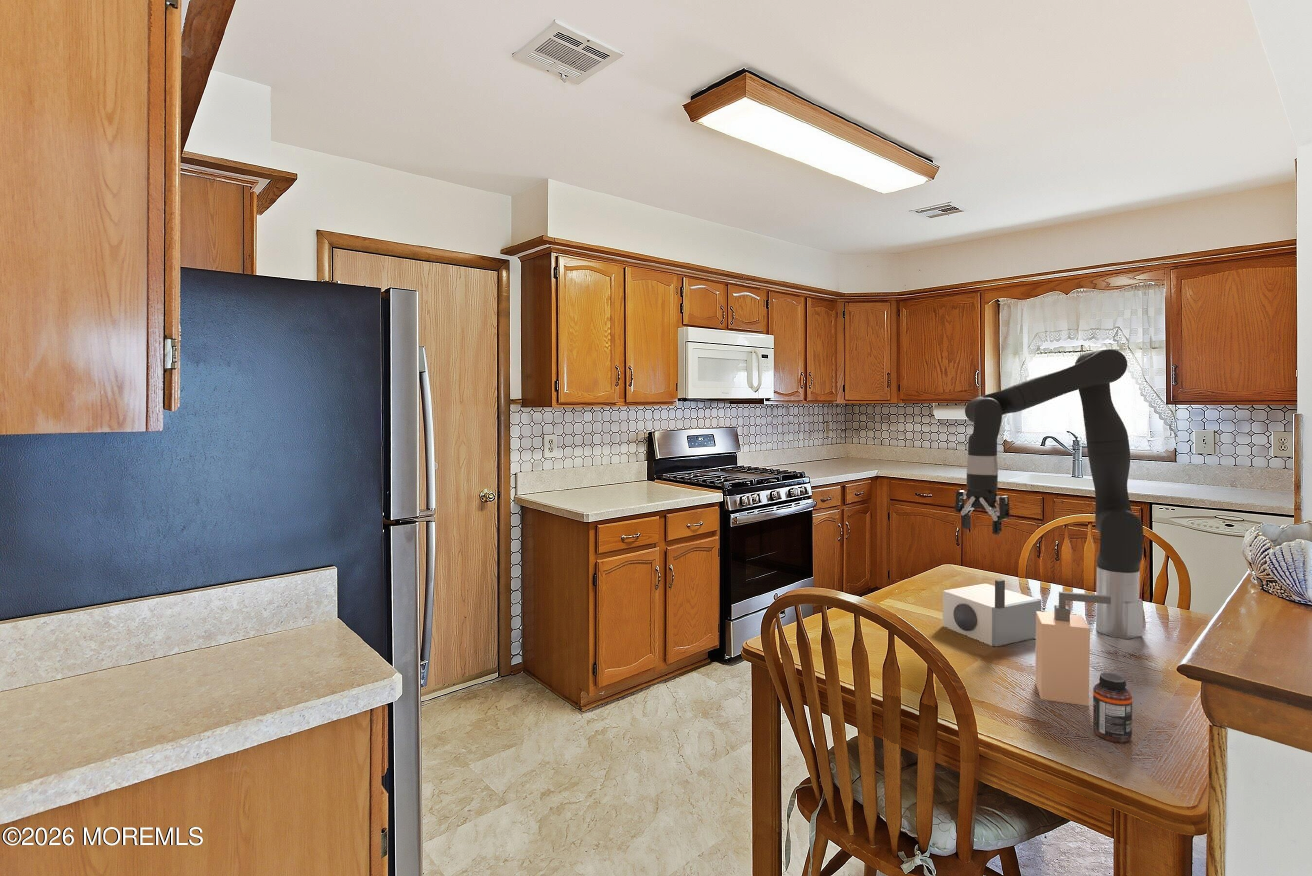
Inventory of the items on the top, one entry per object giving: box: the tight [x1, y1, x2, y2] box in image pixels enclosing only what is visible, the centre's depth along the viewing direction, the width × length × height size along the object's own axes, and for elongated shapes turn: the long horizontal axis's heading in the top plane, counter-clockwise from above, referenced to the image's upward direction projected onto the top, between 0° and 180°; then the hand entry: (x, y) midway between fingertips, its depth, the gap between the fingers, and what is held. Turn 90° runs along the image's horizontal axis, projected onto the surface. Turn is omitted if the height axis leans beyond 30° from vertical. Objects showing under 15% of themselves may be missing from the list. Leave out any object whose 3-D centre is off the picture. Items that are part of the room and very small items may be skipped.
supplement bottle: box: [1092, 672, 1133, 744], centre depth 121 cm, size 6×6×11 cm
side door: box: [992, 579, 1042, 647], centre depth 167 cm, size 2×16×17 cm, turn 112°
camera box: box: [942, 582, 1037, 647], centre depth 175 cm, size 16×17×10 cm
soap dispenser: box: [1034, 591, 1111, 707], centre depth 137 cm, size 13×9×22 cm
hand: (981, 531), depth 176 cm, fingers open, 8 cm apart
